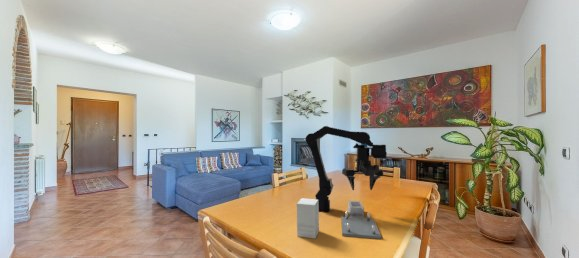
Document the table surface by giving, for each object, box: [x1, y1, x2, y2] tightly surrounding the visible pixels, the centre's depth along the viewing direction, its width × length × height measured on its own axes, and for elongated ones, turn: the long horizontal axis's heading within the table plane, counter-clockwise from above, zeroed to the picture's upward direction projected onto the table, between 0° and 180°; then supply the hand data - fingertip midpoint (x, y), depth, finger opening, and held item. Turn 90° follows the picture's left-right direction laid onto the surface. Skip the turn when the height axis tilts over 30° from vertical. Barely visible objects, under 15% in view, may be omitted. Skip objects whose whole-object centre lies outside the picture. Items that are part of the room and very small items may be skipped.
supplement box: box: [296, 197, 320, 240], centre depth 88 cm, size 7×7×13 cm
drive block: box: [347, 200, 365, 218], centre depth 108 cm, size 6×10×5 cm, turn 171°
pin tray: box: [340, 210, 382, 240], centre depth 92 cm, size 14×17×4 cm
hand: (362, 189), depth 109 cm, fingers open, 9 cm apart
